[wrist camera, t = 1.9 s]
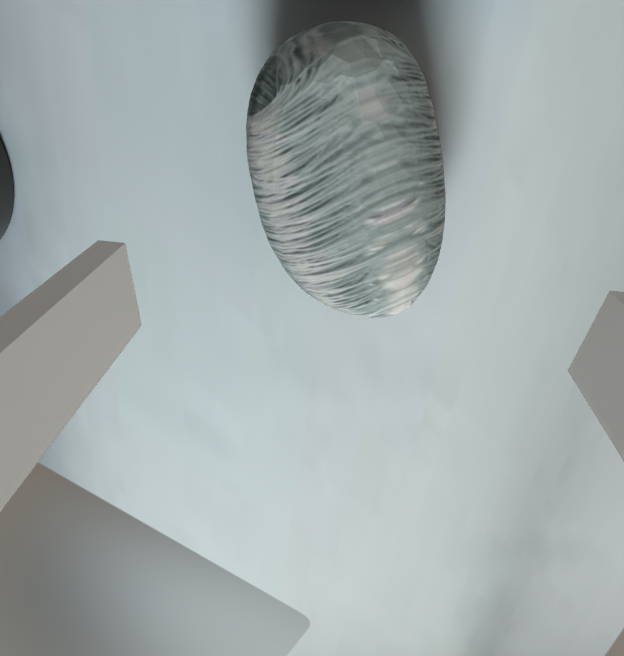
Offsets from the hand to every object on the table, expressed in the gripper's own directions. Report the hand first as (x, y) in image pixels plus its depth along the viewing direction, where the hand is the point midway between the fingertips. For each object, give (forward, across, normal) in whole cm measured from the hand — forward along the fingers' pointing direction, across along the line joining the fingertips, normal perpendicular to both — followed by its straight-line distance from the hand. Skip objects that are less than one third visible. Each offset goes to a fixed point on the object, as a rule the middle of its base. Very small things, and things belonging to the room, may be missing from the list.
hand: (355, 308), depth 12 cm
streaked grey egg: (+15, 0, 0) cm, 15 cm away
